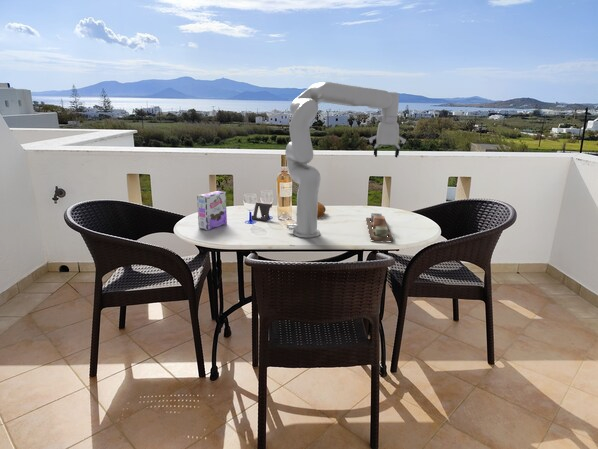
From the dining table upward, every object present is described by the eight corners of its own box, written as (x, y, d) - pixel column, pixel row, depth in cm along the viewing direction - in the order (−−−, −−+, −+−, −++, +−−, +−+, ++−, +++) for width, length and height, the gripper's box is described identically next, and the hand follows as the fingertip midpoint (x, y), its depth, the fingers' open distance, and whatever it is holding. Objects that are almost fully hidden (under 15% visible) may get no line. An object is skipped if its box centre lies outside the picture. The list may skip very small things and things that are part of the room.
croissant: (325, 215, 223) (327, 201, 222) (324, 219, 208) (325, 204, 206) (300, 213, 225) (301, 199, 223) (297, 217, 209) (297, 202, 208)
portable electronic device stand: (250, 219, 204) (250, 204, 202) (258, 216, 211) (258, 200, 209) (265, 221, 201) (265, 206, 198) (273, 218, 208) (273, 202, 205)
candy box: (207, 230, 184) (205, 196, 180) (198, 228, 187) (196, 194, 183) (227, 224, 195) (226, 191, 191) (218, 222, 199) (217, 190, 194)
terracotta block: (373, 232, 187) (374, 218, 185) (372, 229, 192) (373, 215, 190) (383, 232, 187) (385, 218, 185) (382, 229, 192) (384, 216, 190)
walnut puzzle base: (371, 241, 174) (371, 230, 173) (366, 221, 205) (366, 211, 204) (392, 242, 174) (393, 231, 172) (384, 222, 205) (385, 212, 203)
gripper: (370, 119, 181) (368, 157, 186) (409, 120, 180) (405, 158, 185) (369, 119, 188) (367, 155, 193) (406, 120, 187) (403, 156, 192)
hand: (385, 156), depth 189 cm, fingers open, 9 cm apart
